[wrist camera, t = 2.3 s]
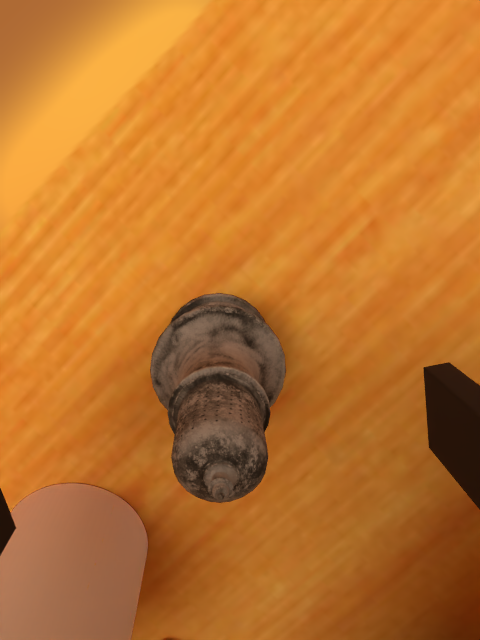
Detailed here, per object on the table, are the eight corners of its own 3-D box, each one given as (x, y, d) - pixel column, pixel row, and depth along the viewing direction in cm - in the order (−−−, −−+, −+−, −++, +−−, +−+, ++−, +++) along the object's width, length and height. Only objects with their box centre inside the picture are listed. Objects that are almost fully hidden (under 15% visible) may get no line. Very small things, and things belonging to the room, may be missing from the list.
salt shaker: (176, 273, 22) (133, 367, 11) (290, 305, 23) (367, 426, 11) (147, 381, 24) (83, 566, 12) (256, 408, 24) (292, 606, 13)
